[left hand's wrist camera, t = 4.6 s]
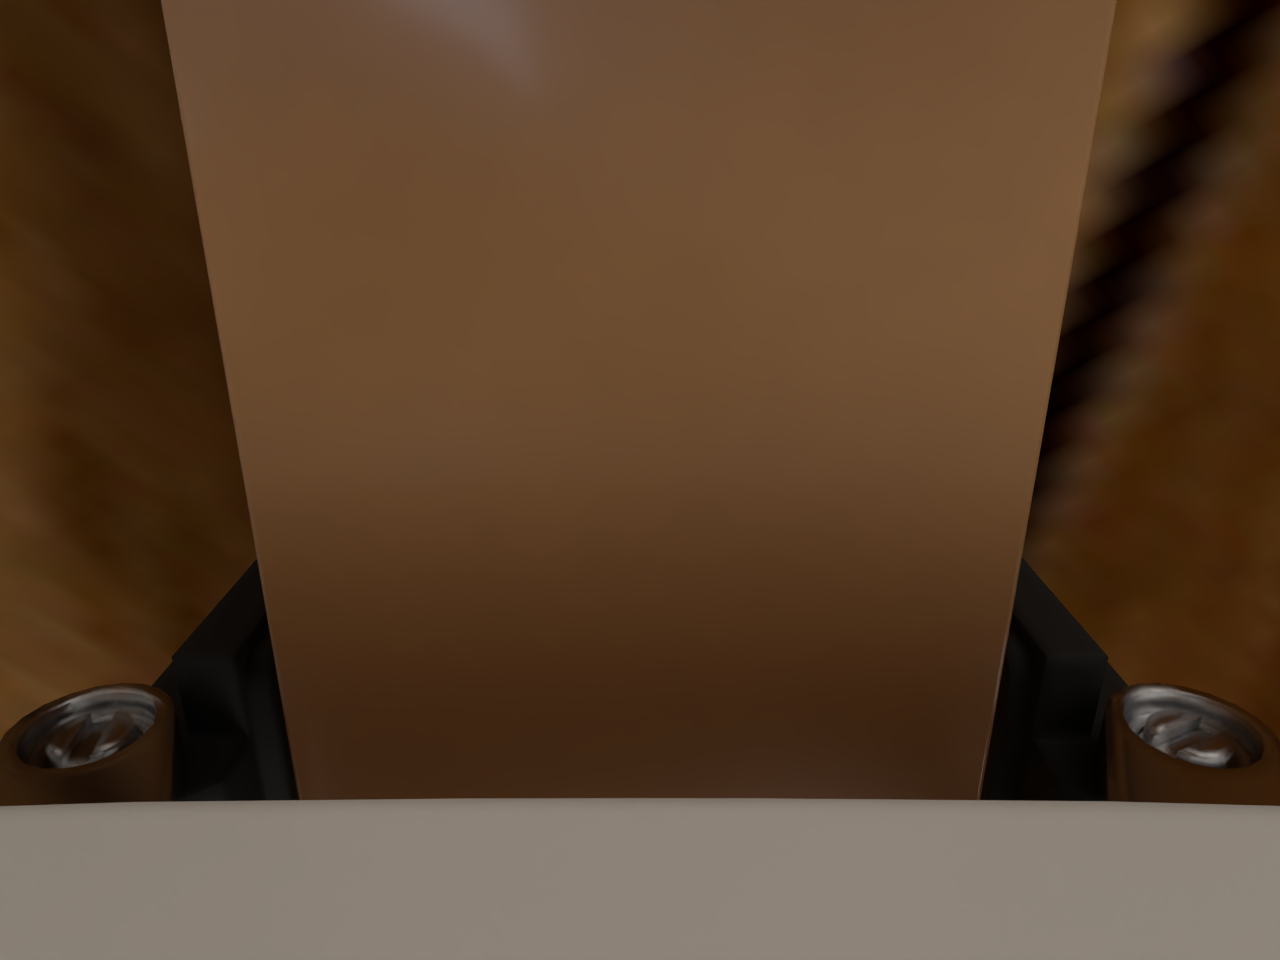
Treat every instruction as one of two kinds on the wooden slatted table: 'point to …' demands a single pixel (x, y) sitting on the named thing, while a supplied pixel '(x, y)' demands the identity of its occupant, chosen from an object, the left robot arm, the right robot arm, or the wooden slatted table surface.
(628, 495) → the post
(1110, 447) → the wooden slatted table surface
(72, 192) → the wooden slatted table surface
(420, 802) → the left robot arm
